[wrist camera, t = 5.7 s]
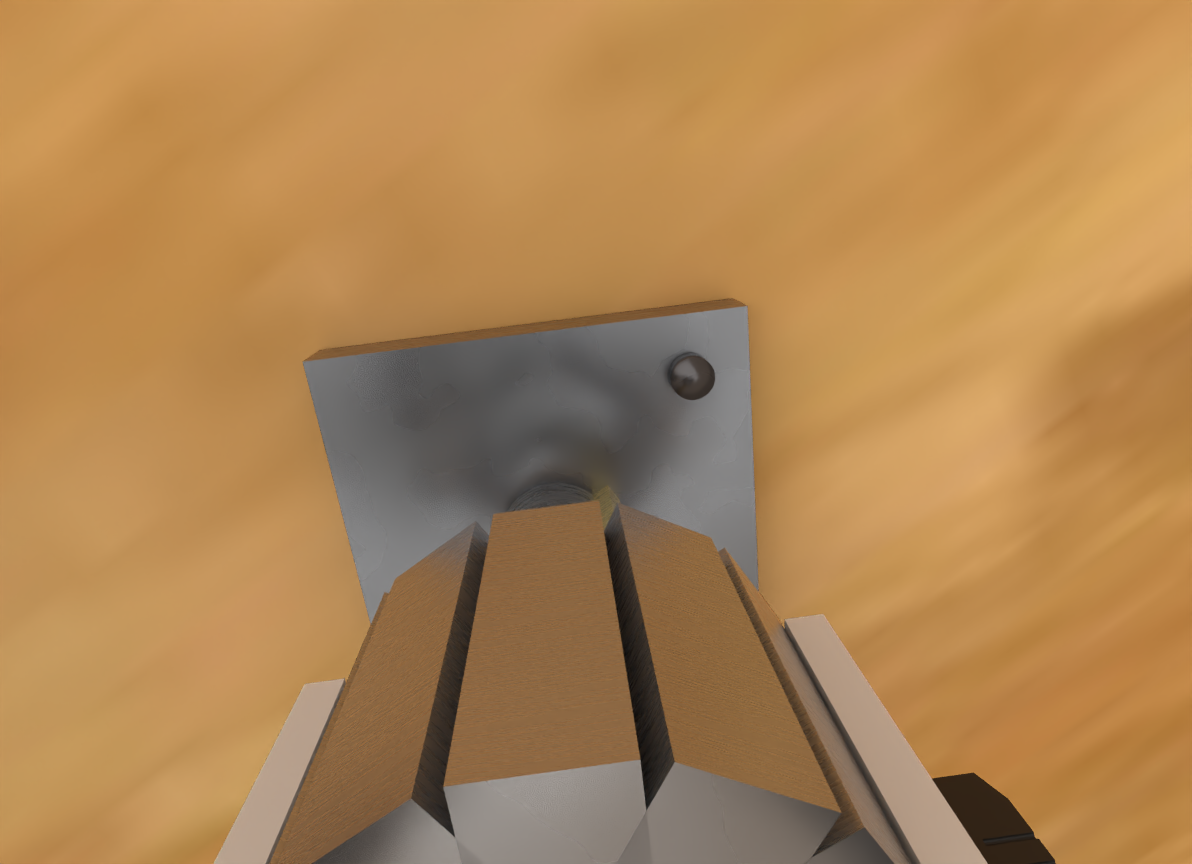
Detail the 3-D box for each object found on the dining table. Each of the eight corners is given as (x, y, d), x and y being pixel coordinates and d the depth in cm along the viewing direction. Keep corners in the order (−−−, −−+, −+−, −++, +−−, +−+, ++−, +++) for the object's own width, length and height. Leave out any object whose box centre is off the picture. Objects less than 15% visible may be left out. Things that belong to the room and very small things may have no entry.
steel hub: (406, 880, 15) (317, 1301, 9) (311, 537, 12) (100, 833, 6) (787, 827, 15) (930, 1205, 9) (778, 477, 12) (971, 714, 7)
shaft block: (405, 691, 23) (337, 933, 16) (319, 349, 20) (173, 448, 12) (748, 642, 24) (846, 854, 16) (732, 298, 20) (853, 360, 12)
